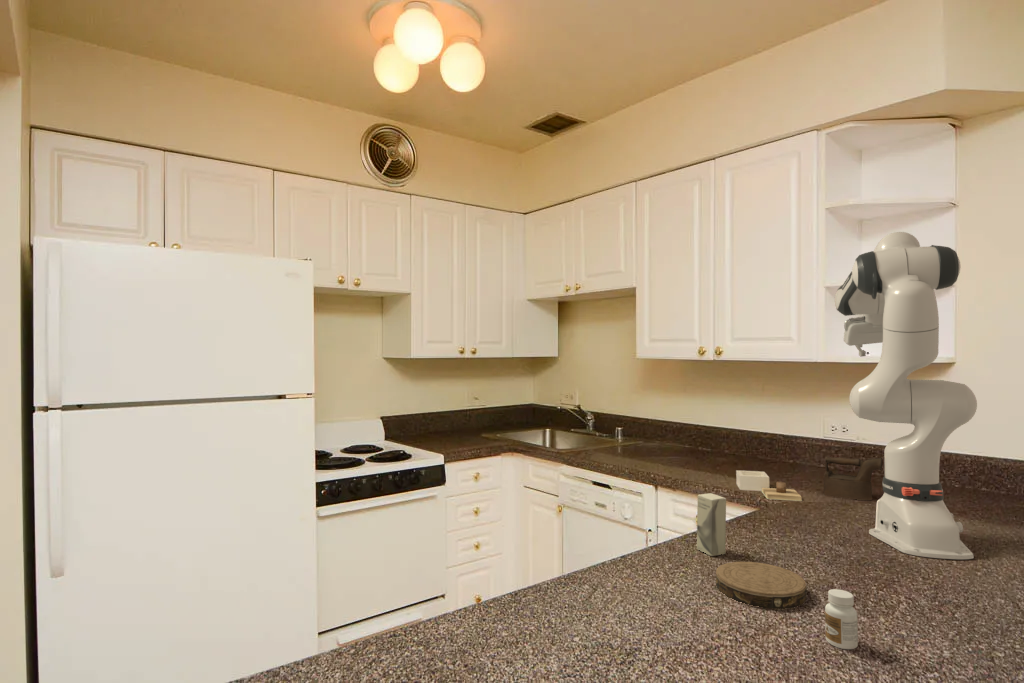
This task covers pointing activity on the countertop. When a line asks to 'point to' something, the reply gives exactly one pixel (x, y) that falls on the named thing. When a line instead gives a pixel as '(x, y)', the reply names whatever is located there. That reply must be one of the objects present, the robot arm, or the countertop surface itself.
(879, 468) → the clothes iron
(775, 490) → the lid
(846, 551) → the countertop surface
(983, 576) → the countertop surface
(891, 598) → the countertop surface
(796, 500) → the mat
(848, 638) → the pill bottle
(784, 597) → the brown round disc
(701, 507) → the box
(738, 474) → the dish
